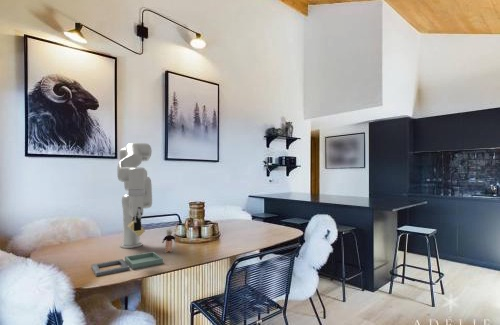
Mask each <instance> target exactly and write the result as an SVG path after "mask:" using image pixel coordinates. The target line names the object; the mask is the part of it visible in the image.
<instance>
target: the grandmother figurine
mask: <svg viewBox="0 0 500 325" xmlns="http://www.w3.org/2000/svg"><path fill="white" fill-rule="evenodd" d="M172 234H173V230H172V229H166V236H164V238H163V239H162V241H161V243H162V244H165V246H164V247H165V248H164V253H166V252H167V253H172V251H173V241H174V242H177V239H176V237H175V236H174V235H172Z"/></svg>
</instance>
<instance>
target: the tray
mask: <svg viewBox="0 0 500 325" xmlns="http://www.w3.org/2000/svg"><path fill="white" fill-rule="evenodd" d="M124 261H125V262H126V263H127V264H128V265H129V267H130V269H131V270H132V271H133V270H137V269H143V268H147V267H152V266H157V265H158V266H159V265H162V264H164V258H163V257H162V256H161V255H159V254H157V253H156V252H154V251H150V252H143V253H138V254H132V255H131V254H130V255H128V256H127V255H126V256H124Z"/></svg>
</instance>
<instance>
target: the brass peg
mask: <svg viewBox="0 0 500 325" xmlns="http://www.w3.org/2000/svg"><path fill="white" fill-rule="evenodd" d="M134 223H135V220H133V221H132V222H131V223H130V224H129V225H128V226H129V227H130V229H131V230H132V231H133V232H134V233H135V234H136V235H137V236H138V237H139V236H140V237H141V236H142V235H143V234H144V233H145V232H146V229H145V228H143V226H141V230H139V231H134Z"/></svg>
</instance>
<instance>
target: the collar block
mask: <svg viewBox="0 0 500 325" xmlns="http://www.w3.org/2000/svg"><path fill="white" fill-rule="evenodd" d="M115 265H119V267H113V268H106V269H103V270H101V268H105V267H110V266H115ZM90 266H91V270H92V271H93V273H94V275H95V277H100V276H106V275H111V274H115V273H116V274H117V273H121V272H122V273H123V272H126V271H130V269H131V267H130V266H129V265H128V264H127V263H126V262H125V259H123V258H121V259H116V260H115V259H114V260H109V261H104V262H99V263H91V264H90Z"/></svg>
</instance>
